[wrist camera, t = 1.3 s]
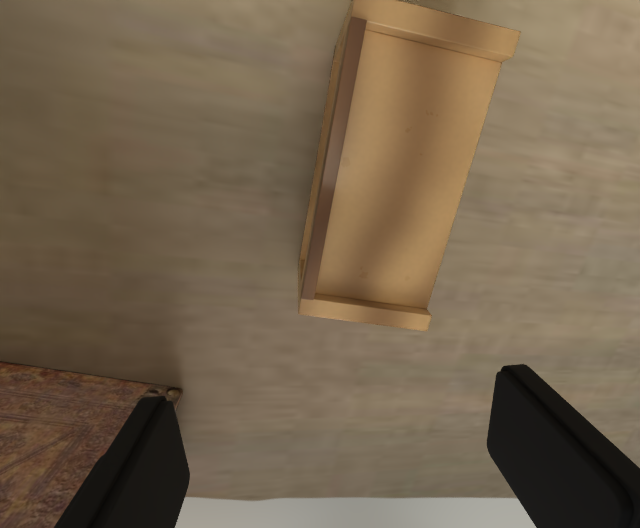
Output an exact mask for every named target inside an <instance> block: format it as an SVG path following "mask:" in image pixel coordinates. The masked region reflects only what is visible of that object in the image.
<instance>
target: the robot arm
mask: <svg viewBox="0 0 640 528" xmlns="http://www.w3.org/2000/svg"><path fill="white" fill-rule="evenodd" d="M487 448H488V451H489V454H490V456H491V457H492V459H493V461H494V462H495V464H496V465H497V467H498V468H499V470H500V471H501V473H502V475H503V476H504V478H505V479H506V481H507V482H508V484H509V485H510V487H511V489H512V490H513V492H514V493H515V495H516V496H517V498H518V499H519V501H520V503H521V504H522V506H523V507H524V509H525V510H526V512H527V513H528V515H529V517H530V518H531V520H532V521H533V523H534V524H535V526H536V527H537V528H640V468H639V467H638V466H637V465H636V464H634V463H633V462H632V461H631V460H630V459H629V458H628V457H627V456H626V455H625V454H623V453H622V452H621V451H620V450H619V449H618V448H617V447H616V446H615V445H614V444H613V443H611V442H610V441H609V440H608V439H607V438H606V437H605V436H604V435H603V434H602V433H601V432H599V431H598V430H597V429H596V428H595V427H594V426H593V425H592V424H591V423H590V422H589V421H587V420H586V419H585V418H584V417H583V416H582V415H581V414H580V413H579V412H578V411H576V410H575V409H574V408H573V407H572V406H571V405H570V404H569V403H568V402H567V401H566V400H564V399H563V398H562V397H561V396H560V395H559V394H558V393H557V392H556V391H555V390H554V389H552V388H551V387H550V386H549V385H548V384H547V383H546V382H545V381H544V380H543V379H542V378H540V377H539V376H538V375H537V374H536V373H535V372H534V371H533V370H532V369H531V368H529V367H528V366H527V365H524V364H520V365H508V366H503V367H502V369H501V371H500V372H498V373H497V375H496V380H495V387H494V394H493V402H492V409H491V416H490V423H489V430H488V437H487ZM189 479H190V472H189V467H188V463H187V459H186V455H185V451H184V446H183V442H182V438H181V434H180V430H179V425H178V421H177V417H176V413H175V409H174V405H173V402H172V401H167V399H166V397H165V396H153V397H143V398H141V399H140V400H139V401H138V403H137V405H136V406H135V408H134V409H133V411H132V412H131V414H130V415H129V417H128V419H127V420H126V422H125V423H124V425H123V426H122V428H121V429H120V431H119V433H118V434H117V436H116V437H115V439H114V440H113V442H112V443H111V445H110V447H109V448H108V450H107V451H106V453H105V454H104V455H102V456H101V457H100V458H99V459H98V461H97V462H96V463H95V465H94V466H93V468H92V469H91V471H90V473H89V474H88V476H87V477H86V479H85V480H84V482H83V483H82V485H81V486H80V488H79V489H78V491H77V492H76V494H75V496H74V497H73V499H72V500H71V502H70V503H69V505H68V506H67V508H66V509H65V511H64V512H63V514H62V515H61V517H60V518H59V520H58V522H57V523H56V525H55V526H54V528H175V525H176V522H177V519H178V516H179V513H180V509H181V507H182V504H183V501H184V498H185V495H186V492H187V489H188V485H189Z"/></svg>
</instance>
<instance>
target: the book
mask: <svg viewBox="0 0 640 528" xmlns="http://www.w3.org/2000/svg"><path fill="white" fill-rule="evenodd" d="M182 394H183V391H182V389H180V388H175V387H168V386H161V385H154V384H147V383H141V382H134V381H127V380H120V379H114V378H107V377H100V376H93V375H86V374H80V373H73V372H66V371H59V370H52V369H46V368H39V367H32V366H25V365H19V364H12V363H5V362H0V528H54V526H55V525H56V523H57V522H58V520H59V518H60V517H61V515H62V514H63V512H64V511H65V509H66V508H67V506H68V505H69V503H70V502H71V500H72V499H73V497H74V496H75V494H76V492H77V491H78V489H79V488H80V486H81V485H82V483H83V482H84V480H85V479H86V477H87V476H88V474H89V473H90V471H91V469H92V468H93V466H94V465H95V463H96V462H97V461H98V459H99V458H100V457H101V456H102V455H104V454H105V453H106V451H107V450H108V448H109V447H110V445H111V443H112V442H113V440H114V439H115V437H116V436H117V434H118V433H119V431H120V429H121V428H122V426H123V425H124V423H125V422H126V420H127V419H128V417H129V415H130V414H131V412H132V411H133V409H134V408H135V406H136V405H137V403H138V401H139V400H140V399H141V398H143V397H153V396H165V397H166V399H167V401H172V402H173V405H174V409H175V413H176V407H177V405H178V403H179V401H180V398H181V396H182Z"/></svg>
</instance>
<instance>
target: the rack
mask: <svg viewBox="0 0 640 528" xmlns="http://www.w3.org/2000/svg"><path fill="white" fill-rule="evenodd" d="M520 33H521V32H520V31H516V30H512V29H508V28H505V27H501V26H497V25H493V24H489V23H485V22H481V21H477V20H473V19H469V18H465V17H461V16H458V15H454V14H450V13H446V12H442V11H438V10H434V9H430V8H426V7H422V6H418V5H414V4H410V3H407V2H403V1H399V0H352V2H351V4H350V7H349V10H348V13H347V16H346V18H345V21H344V24H343V27H342V30H341V32H340V35H339V38H338V41H337V44H336V46H335V51H334V57H333V63H332V69H331V75H330V81H329V87H328V93H327V99H326V105H325V111H324V116H323V122H322V128H321V134H320V140H319V146H318V152H317V158H316V164H315V170H314V176H313V182H312V187H311V193H310V199H309V205H308V211H307V217H306V223H305V229H304V235H303V241H302V247H301V253H300V258H299V264H298V314H300V315H308V316H315V317H323V318H331V319H338V320H346V321H353V322H361V323H369V324H376V325H384V326H391V327H399V328H406V329H414V330H422V331H427V330H428V327H429V324H430V321H431V318H432V315H431V314H430V313H429V312H428V310H427V307H428V303H429V300H430V297H431V294H432V290H433V287H434V284H435V281H436V277H437V274H438V271H439V267H440V264H441V261H442V258H443V254H444V251H445V248H446V245H447V241H448V238H449V235H450V232H451V228H452V225H453V222H454V219H455V215H456V212H457V209H458V205H459V202H460V199H461V196H462V192H463V189H464V186H465V183H466V179H467V176H468V173H469V170H470V166H471V163H472V160H473V156H474V153H475V150H476V147H477V143H478V140H479V137H480V134H481V130H482V127H483V124H484V121H485V117H486V114H487V111H488V108H489V104H490V101H491V98H492V94H493V91H494V88H495V85H496V81H497V78H498V75H499V72H500V68H501V65H502V62H503V61H505V60H508V59H510V58H512V57H513V56H514V53H515V49H516V46H517V43H518V40H519V37H520Z"/></svg>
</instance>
